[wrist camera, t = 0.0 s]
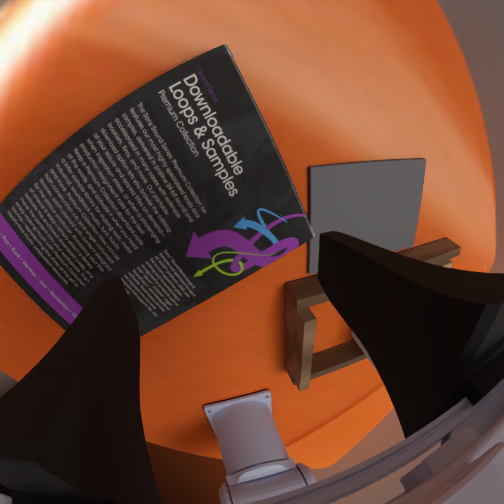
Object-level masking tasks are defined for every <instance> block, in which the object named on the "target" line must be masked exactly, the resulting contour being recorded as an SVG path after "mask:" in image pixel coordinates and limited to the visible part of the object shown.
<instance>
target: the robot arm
mask: <svg viewBox="0 0 504 504" xmlns="http://www.w3.org/2000/svg"><path fill="white" fill-rule="evenodd" d="M317 279H318V281H319V283H320V285H321V287H322V288H323V290H324V292H325V294H326V296H327V297H328V299H329V300H330V302H331V303H332V305H333V306H334V307H335V309H336V310H337V311H338V313H339V314H340V315H341V317H342V318H343V319H344V320H345V322H346V323H347V324H348V326H349V327H350V328H351V330H352V331H353V332H354V334H355V335H356V336H357V338H358V339H359V340H360V342H361V343H362V345H363V346H364V348H365V349H366V351H367V353H368V355H369V356H370V358H371V360H372V362H373V364H374V365H375V367H376V369H377V371H378V373H379V375H380V377H381V379H382V381H383V383H384V385H385V387H386V389H387V392H388V394H389V396H390V398H391V401H392V403H393V405H394V408H395V410H396V413H397V415H398V418H399V421H400V424H401V426H402V430H403V433H404V436H405V438H406V439H404V440H403V441H401V442H400V443H398V444H396V445H395V446H392V447H391V448H389V449H387V450H385V451H383V452H382V453H380V454H378V455H376V456H374V457H372V458H370V459H368V460H366V461H364V462H362V463H360V464H358V465H356V466H354V467H351V468H349V469H347V470H345V471H342V472H340V473H338V474H335V475H333V476H331V477H328V478H326V479H323V480H321V481H318V482H317V481H316V479H315V477H314V475H313V473H312V472H311V470H310V469H309V467H308V466H306V465H304V464H302V463H297V464H295V462H294V459H293V458H291V459H290V458H289V456H288V453H287V451H286V449H285V446H284V444H283V441H282V439H281V437H280V434H279V432H278V429H277V427H276V424H275V422H274V420H273V417H272V405H271V392H270V391H269V390H265V391H261V392H258V393H254V394H250V395H247V396H243V397H239V398H235V399H231V400H227V401H222V402H218V403H214V404H209V405H205V406H204V411H205V413H206V415H207V417H208V420H209V422H210V424H211V426H212V428H213V430H214V432H215V434H216V436H217V439H218V443H219V447H220V451H221V454H222V458H223V461H224V465H225V468H226V472H227V474H228V476H226V479H227V482H228V483H224V484H222V486H221V488H220V489H219V495H220V500H221V503H222V504H330V503H332V502H335V501H337V500H339V499H341V498H344V497H346V496H348V495H350V494H353V493H355V492H357V491H359V490H361V489H363V488H365V487H367V486H369V485H371V484H373V483H375V482H377V481H379V480H381V479H382V478H384V477H386V476H388V475H390V474H391V473H393V472H395V471H396V470H398V469H400V468H402V467H403V466H405V465H407V464H408V463H410V462H411V461H413V460H415V459H416V458H418V457H419V456H421V455H422V454H424V453H425V452H427V451H428V450H430V449H431V448H432V447H434V446H435V445H437V444H438V443H439V442H441V441H442V442H441V447H439V448H438V449H437V450H436V451H434V452H433V453H432V454H430V455H429V456H428V457H426V458H425V459H424V460H423V461H422V462H421V463H420V464H419V465H417V466H416V467H415V468H414V469H412V470H411V471H410V472H408V473H407V474H406V475H404V476H403V477H401V479H400V482H401V483H402V485H403V487H404V488H405V492H404V493H402V494H400V495H399V496H397V497H395V498H393V499H392V500H390V501H388V502H386V503H384V504H504V274H501V273H482V272H473V271H465V270H459V269H454V268H448V267H443V266H439V265H435V264H431V263H427V262H423V261H420V260H416V259H413V258H410V257H407V256H404V255H401V254H398V253H395V252H392V251H390V250H387V249H384V248H382V247H379V246H377V245H374V244H371V243H369V242H366V241H364V240H361V239H358V238H356V237H353V236H350V235H348V234H345V233H341V232H338V231H329V232H325V233H320V236H319V259H318V277H317ZM0 483H1V484H3V485H5V486H6V487H8V488H10V489H11V490H12V498H11V497H9V496H6V495H4V494H1V493H0V504H163V503H162V500H161V497H160V494H159V491H158V488H157V485H156V482H155V479H154V475H153V471H152V467H151V463H150V459H149V455H148V451H147V446H146V441H145V436H144V430H143V424H142V417H141V410H140V336H139V325H138V319H137V317H136V314H135V312H134V309H133V307H132V305H131V302H130V300H129V297H128V295H127V292H126V289H125V287H124V284H123V281H122V279H121V276H118V277H113V278H109V279H105V280H104V281H103V282H102V283H101V284H100V285H99V287H98V288H97V289H96V291H95V292H94V293H93V295H92V296H91V298H90V299H89V300H88V302H87V303H86V304H85V306H84V307H83V309H82V310H81V311H80V313H79V314H78V316H77V317H76V318H75V319H74V321H73V322H72V323H71V325H70V326H69V327H68V329H67V330H66V331H65V333H64V334H63V335H62V337H61V338H60V339H59V340H58V341H57V343H56V344H55V345H54V346H53V347H52V348H51V350H50V351H49V352H48V353H47V354H46V355H45V356H44V357H43V359H42V360H41V361H40V362H39V363H38V364H37V365H36V366H35V367H34V368H33V369H32V370H31V371H30V372H29V373H28V374H27V375H26V376H25V377H24V378H23V379H22V380H20V381H19V382H18V383H17V384H16V385H15V386H14V387H13V388H11V389H10V390H9V391H8V392H7V393H6V394H4V395H3V396H2V397H1V398H0Z"/></svg>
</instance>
